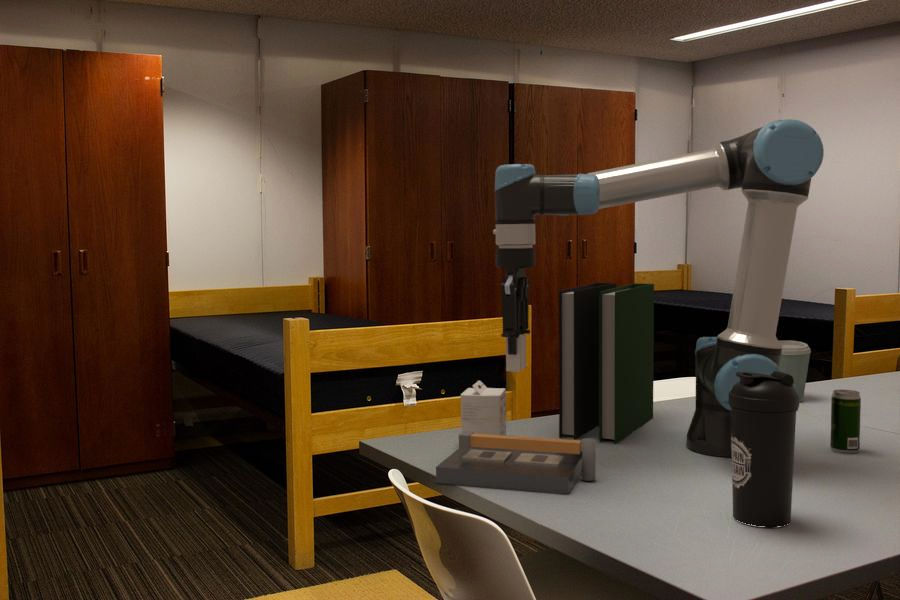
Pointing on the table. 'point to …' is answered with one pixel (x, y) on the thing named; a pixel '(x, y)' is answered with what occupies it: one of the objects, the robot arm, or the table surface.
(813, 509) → the table surface
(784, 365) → the disposable coffee cup
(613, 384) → the books
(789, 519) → the water bottle
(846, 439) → the beer can
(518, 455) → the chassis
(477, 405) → the ink box
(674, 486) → the table surface
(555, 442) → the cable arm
